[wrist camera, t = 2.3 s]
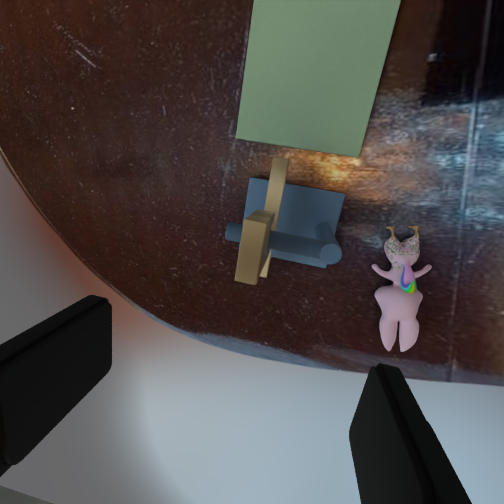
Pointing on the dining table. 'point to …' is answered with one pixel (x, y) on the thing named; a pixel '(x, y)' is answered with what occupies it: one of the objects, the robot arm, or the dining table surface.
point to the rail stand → (298, 223)
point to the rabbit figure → (400, 292)
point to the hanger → (261, 228)
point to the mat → (314, 72)
